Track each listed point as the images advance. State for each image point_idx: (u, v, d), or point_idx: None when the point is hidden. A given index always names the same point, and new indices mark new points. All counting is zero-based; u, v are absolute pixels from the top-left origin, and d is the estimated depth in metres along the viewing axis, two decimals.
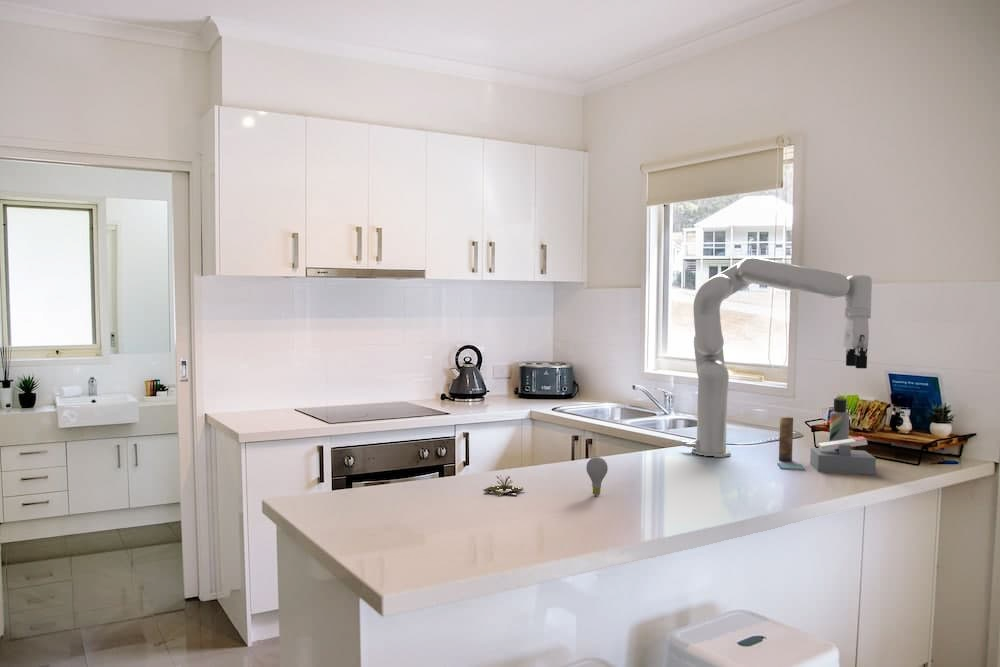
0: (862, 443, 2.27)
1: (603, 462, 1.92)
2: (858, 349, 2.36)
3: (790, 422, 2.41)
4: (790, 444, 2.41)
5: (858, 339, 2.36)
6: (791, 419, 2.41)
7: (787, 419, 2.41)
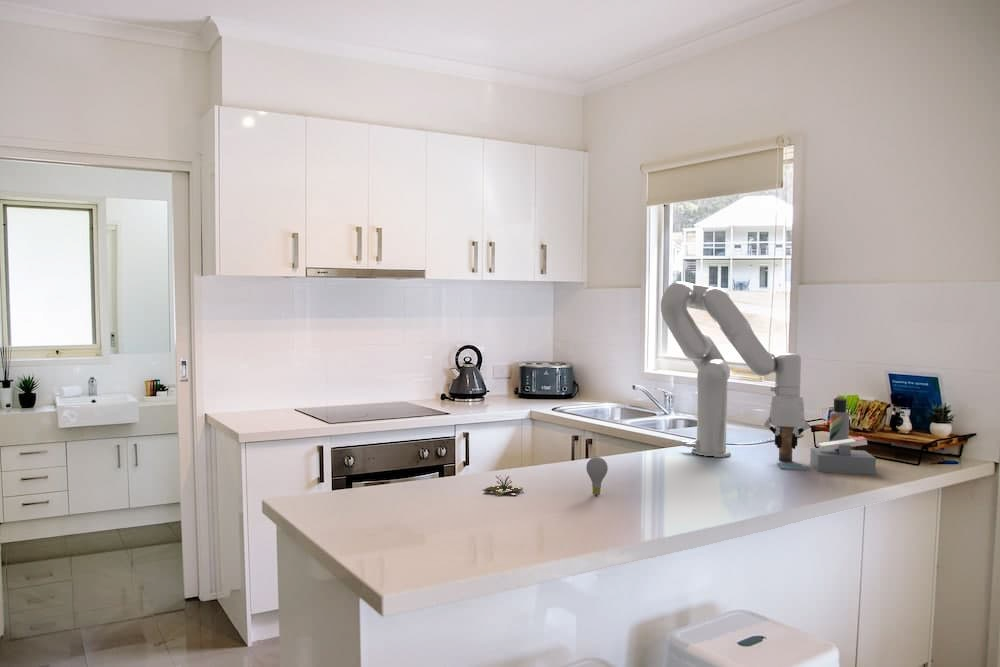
0: (862, 443, 2.27)
1: (603, 462, 1.92)
2: (798, 430, 2.41)
3: None
4: (790, 444, 2.41)
5: None
6: None
7: None
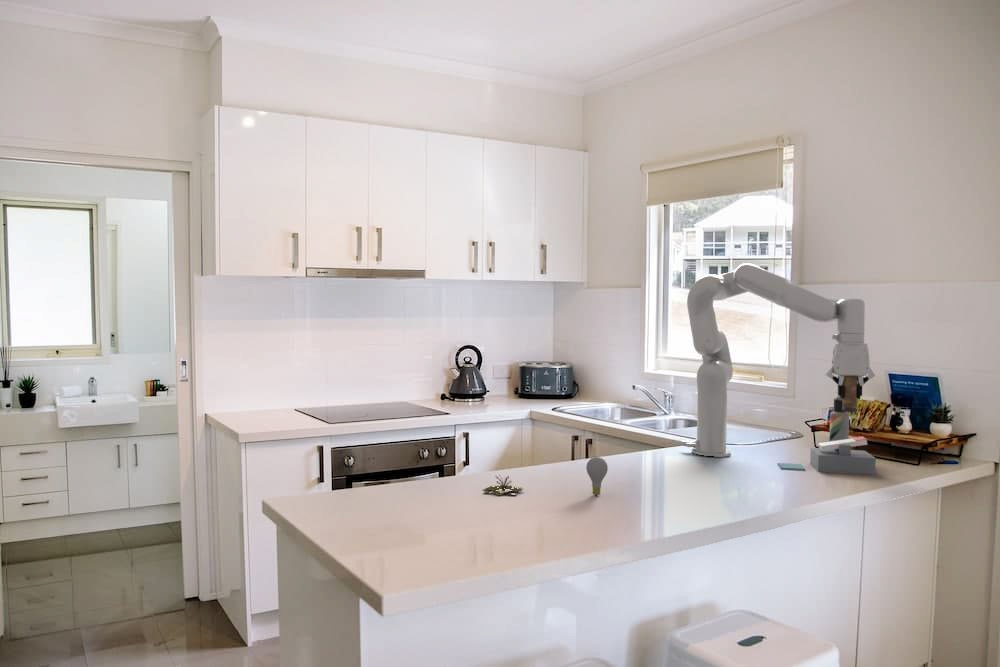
0: (862, 443, 2.27)
1: (603, 462, 1.92)
2: (862, 379, 2.30)
3: None
4: (855, 394, 2.30)
5: None
6: None
7: None
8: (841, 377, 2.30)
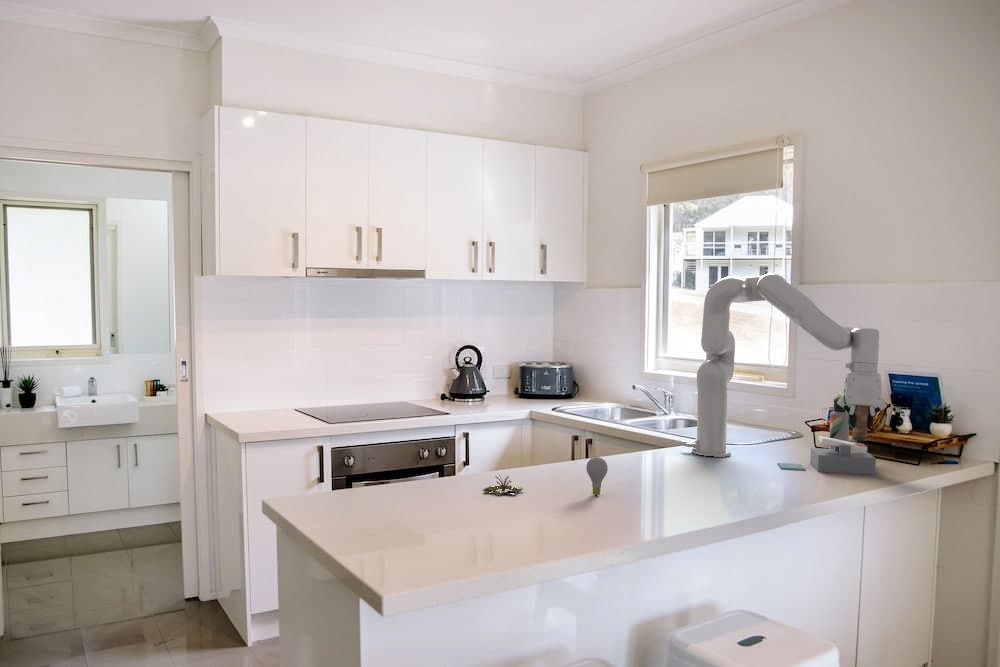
0: (862, 449, 2.27)
1: (603, 462, 1.92)
2: (874, 409, 2.28)
3: None
4: (865, 423, 2.28)
5: None
6: None
7: None
8: (852, 406, 2.29)
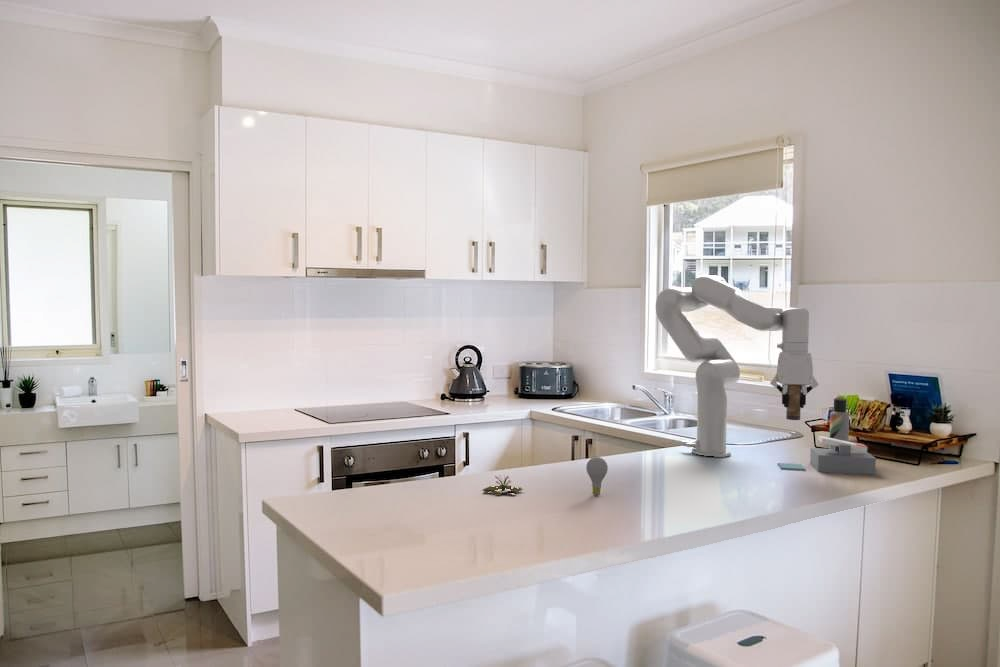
0: (862, 449, 2.27)
1: (603, 462, 1.92)
2: None
3: None
4: (798, 402, 2.30)
5: None
6: None
7: None
8: (785, 386, 2.30)
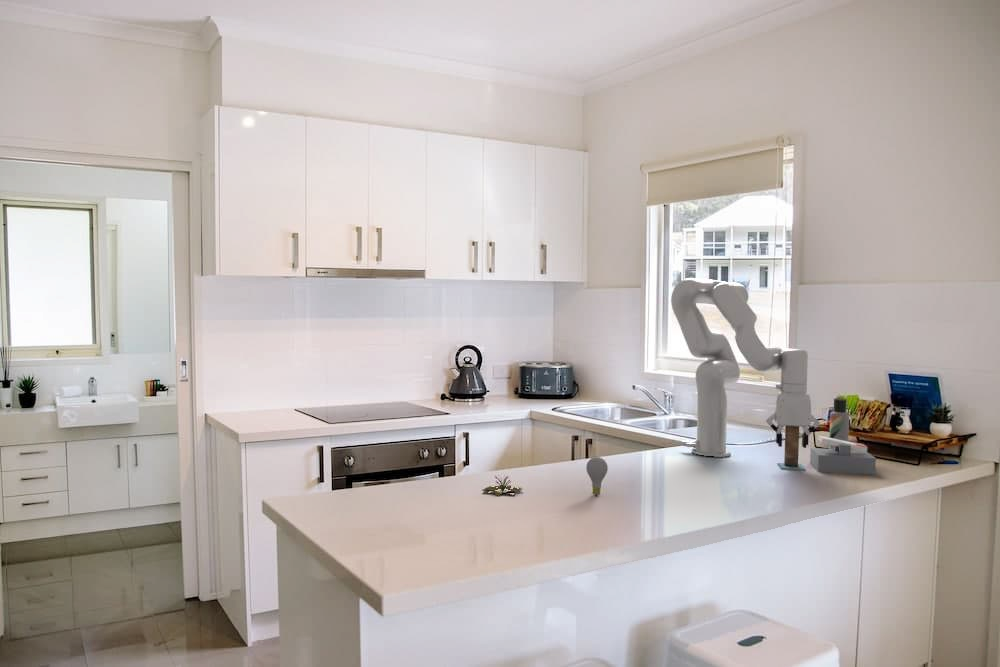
0: (862, 449, 2.27)
1: (603, 462, 1.92)
2: (808, 428, 2.30)
3: (796, 426, 2.30)
4: (796, 449, 2.30)
5: (811, 416, 2.29)
6: None
7: None
8: (780, 426, 2.31)
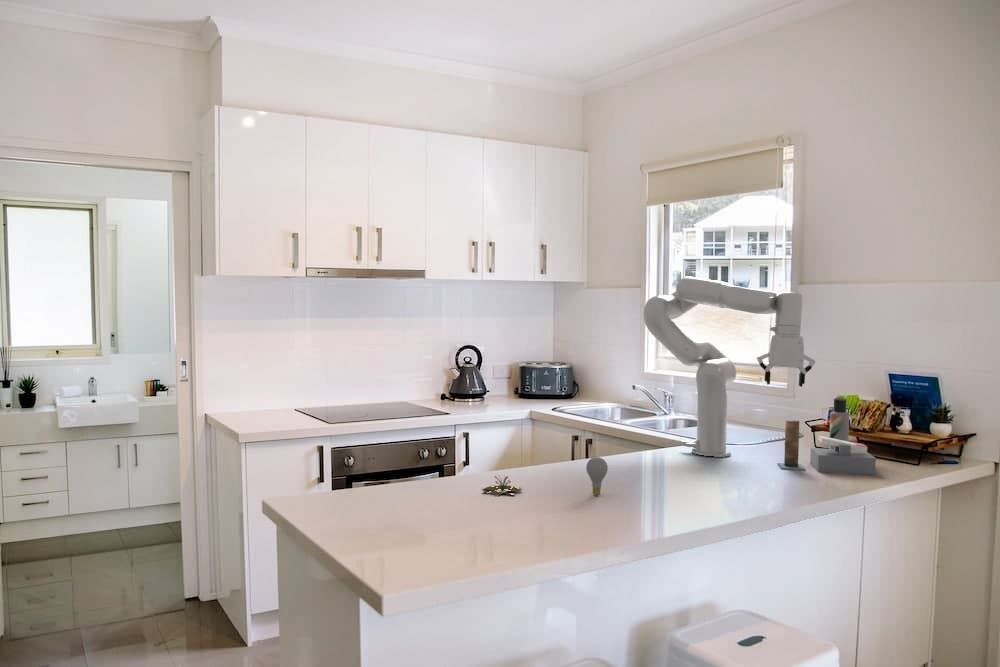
0: (862, 449, 2.27)
1: (603, 462, 1.92)
2: None
3: (796, 426, 2.30)
4: (796, 449, 2.30)
5: (803, 357, 2.34)
6: (797, 423, 2.30)
7: (792, 423, 2.30)
8: (771, 365, 2.37)
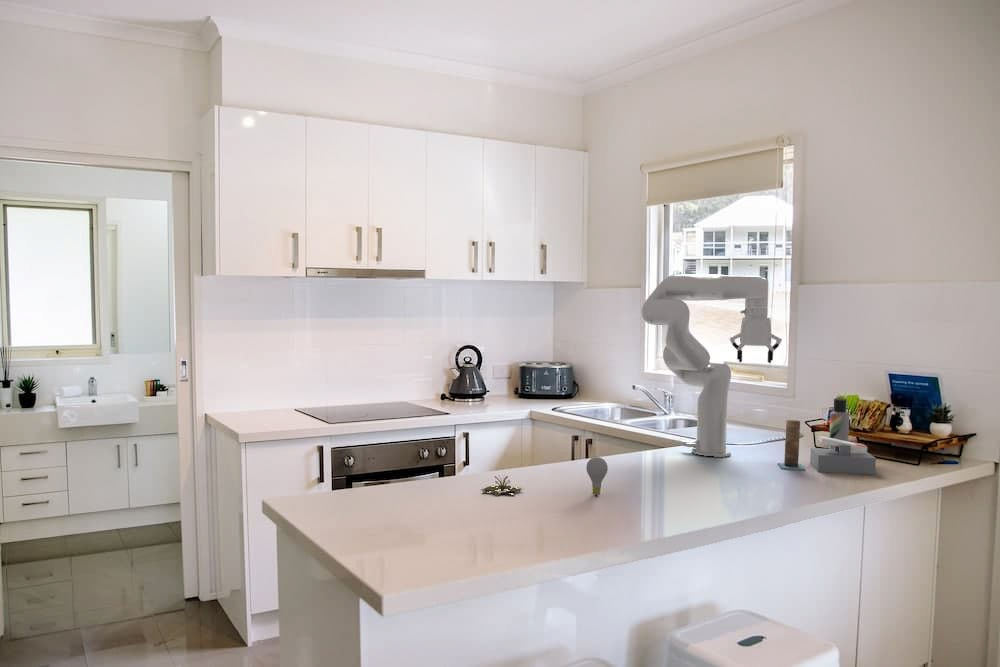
0: (862, 449, 2.27)
1: (603, 462, 1.92)
2: None
3: (797, 426, 2.30)
4: (796, 449, 2.30)
5: (771, 336, 2.60)
6: (798, 422, 2.30)
7: (793, 423, 2.30)
8: (742, 344, 2.61)
